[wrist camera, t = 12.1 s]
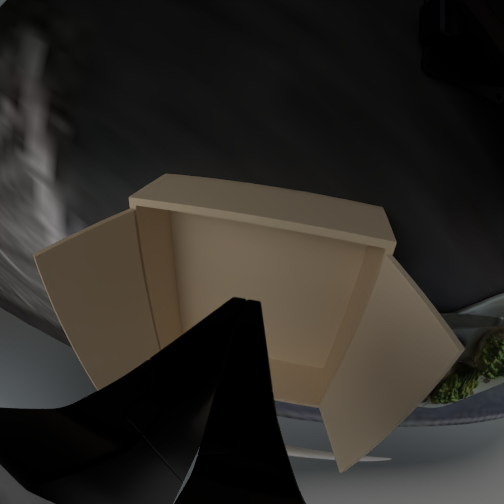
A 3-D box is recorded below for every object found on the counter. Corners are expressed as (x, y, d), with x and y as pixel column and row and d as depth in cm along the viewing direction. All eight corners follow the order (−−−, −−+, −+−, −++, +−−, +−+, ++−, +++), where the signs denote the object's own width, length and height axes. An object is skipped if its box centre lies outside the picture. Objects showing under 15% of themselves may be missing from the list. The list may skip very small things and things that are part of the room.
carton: (382, 207, 19) (396, 242, 15) (326, 368, 28) (322, 408, 24) (166, 173, 21) (128, 197, 17) (181, 335, 31) (162, 369, 27)
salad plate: (556, 245, 15) (580, 273, 11) (535, 358, 22) (545, 384, 18) (386, 313, 24) (391, 353, 20) (409, 405, 30) (411, 435, 26)
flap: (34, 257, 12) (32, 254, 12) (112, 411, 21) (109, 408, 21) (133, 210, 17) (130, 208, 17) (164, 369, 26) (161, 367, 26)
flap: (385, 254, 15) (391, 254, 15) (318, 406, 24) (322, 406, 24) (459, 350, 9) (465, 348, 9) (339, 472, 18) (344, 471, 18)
